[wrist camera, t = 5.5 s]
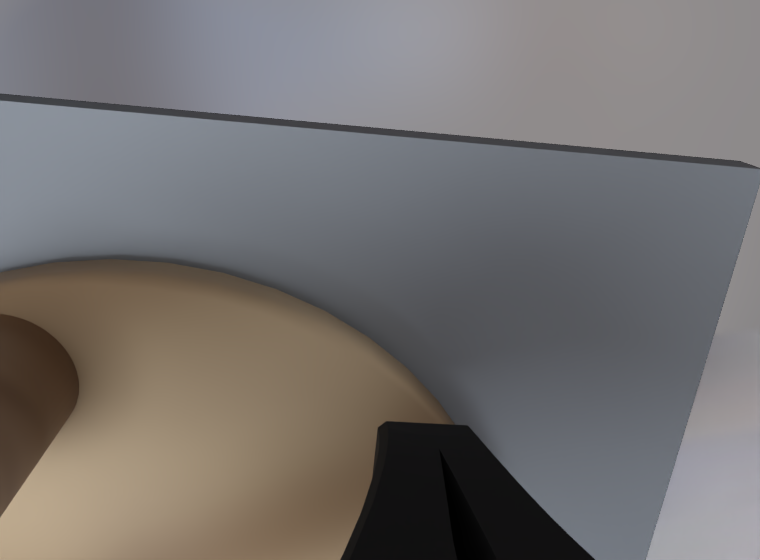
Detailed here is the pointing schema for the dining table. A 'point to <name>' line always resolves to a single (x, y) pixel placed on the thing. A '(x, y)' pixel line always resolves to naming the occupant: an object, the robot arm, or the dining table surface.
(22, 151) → the grey flat square board
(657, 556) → the dining table surface
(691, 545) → the dining table surface
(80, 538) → the dial
